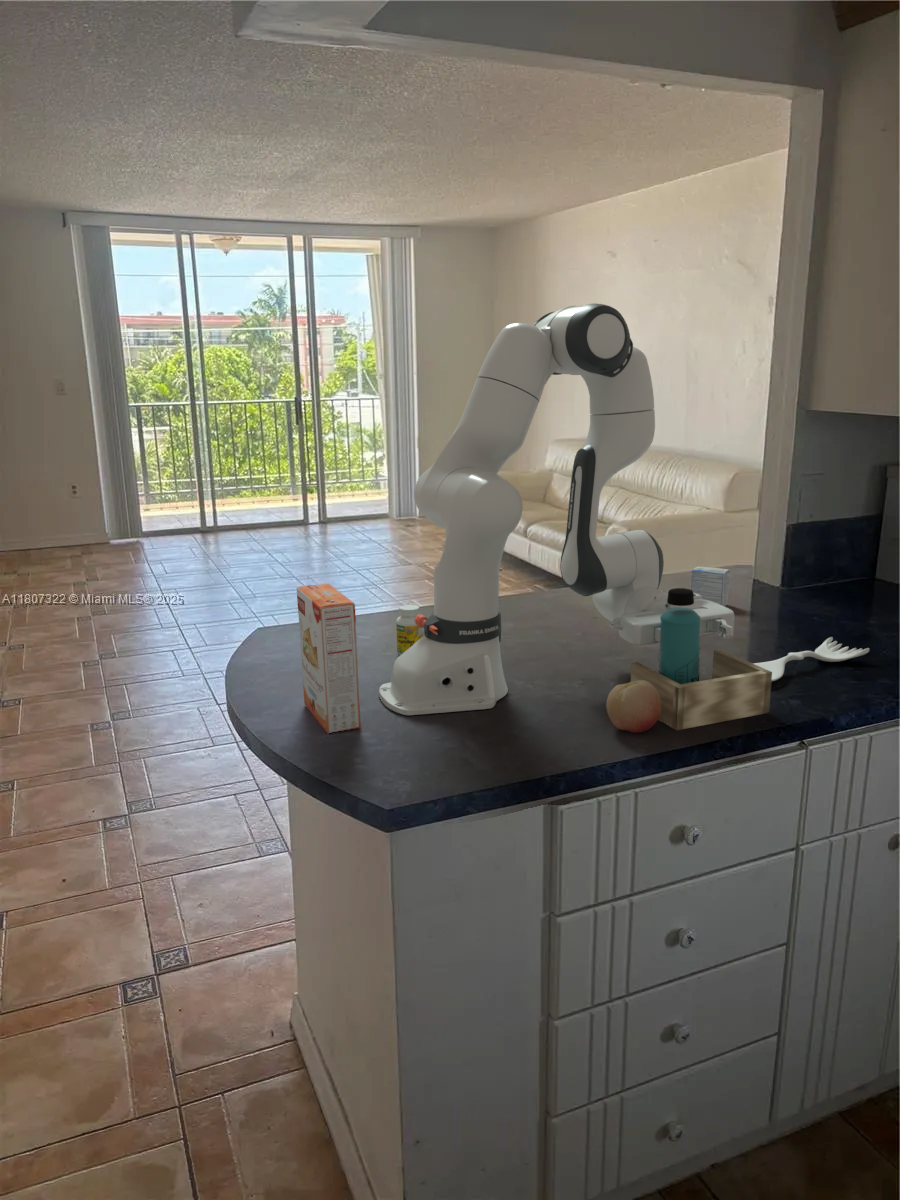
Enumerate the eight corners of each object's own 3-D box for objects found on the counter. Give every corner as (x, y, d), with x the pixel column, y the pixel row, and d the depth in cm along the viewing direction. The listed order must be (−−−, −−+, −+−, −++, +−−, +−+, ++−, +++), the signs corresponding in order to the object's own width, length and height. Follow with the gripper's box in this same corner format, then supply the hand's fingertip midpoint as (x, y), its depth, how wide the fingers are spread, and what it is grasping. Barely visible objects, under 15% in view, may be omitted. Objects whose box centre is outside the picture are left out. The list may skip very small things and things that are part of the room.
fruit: (627, 715, 142) (629, 669, 140) (669, 730, 136) (672, 681, 134) (596, 729, 137) (597, 681, 135) (637, 744, 131) (640, 694, 129)
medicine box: (727, 604, 207) (730, 569, 205) (722, 609, 204) (725, 572, 202) (694, 600, 211) (696, 565, 209) (689, 604, 208) (691, 569, 206)
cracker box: (301, 705, 148) (294, 585, 143) (336, 700, 150) (330, 581, 145) (324, 736, 136) (318, 605, 130) (362, 729, 138) (356, 601, 133)
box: (676, 730, 136) (678, 688, 134) (629, 702, 148) (631, 662, 146) (768, 712, 142) (772, 672, 141) (716, 687, 154) (719, 649, 152)
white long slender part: (869, 663, 166) (871, 646, 165) (749, 694, 151) (751, 675, 150) (829, 651, 174) (831, 634, 173) (710, 679, 159) (712, 661, 158)
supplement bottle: (428, 651, 176) (427, 605, 173) (417, 659, 171) (416, 611, 169) (404, 648, 178) (403, 602, 176) (392, 656, 173) (391, 609, 171)
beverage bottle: (694, 717, 140) (698, 596, 135) (652, 711, 143) (655, 593, 138) (702, 703, 145) (706, 586, 140) (662, 698, 148) (665, 583, 143)
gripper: (605, 604, 149) (652, 625, 136) (704, 592, 156) (757, 610, 144) (603, 639, 150) (650, 663, 138) (701, 626, 158) (754, 647, 145)
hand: (705, 636), depth 141 cm, fingers open, 8 cm apart
